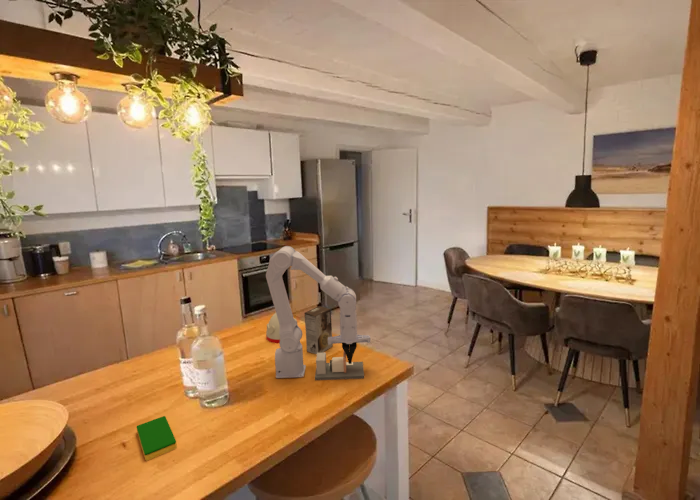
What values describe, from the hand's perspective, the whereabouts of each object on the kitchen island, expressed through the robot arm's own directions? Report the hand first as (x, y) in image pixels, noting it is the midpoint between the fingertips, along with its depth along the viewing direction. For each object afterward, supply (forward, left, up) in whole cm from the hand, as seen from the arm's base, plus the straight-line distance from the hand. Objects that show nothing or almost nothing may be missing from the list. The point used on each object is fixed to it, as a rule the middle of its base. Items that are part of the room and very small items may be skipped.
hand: (350, 362), depth 129 cm
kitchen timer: (-29, +33, -4) cm, 44 cm away
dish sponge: (-51, -32, -4) cm, 61 cm away
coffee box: (-12, +19, -4) cm, 23 cm away
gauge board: (-4, 0, -3) cm, 5 cm away
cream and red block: (-4, +1, -2) cm, 5 cm away
